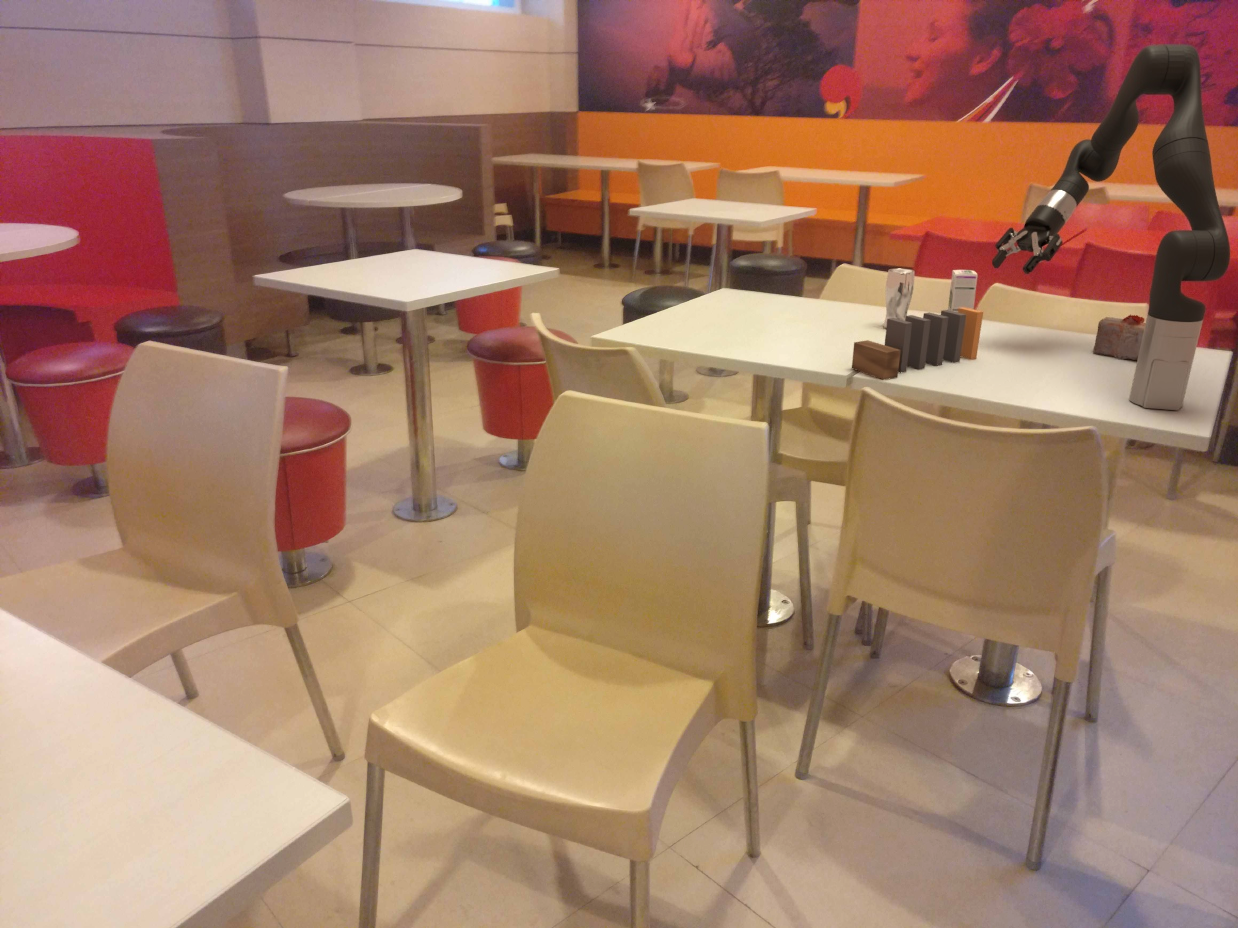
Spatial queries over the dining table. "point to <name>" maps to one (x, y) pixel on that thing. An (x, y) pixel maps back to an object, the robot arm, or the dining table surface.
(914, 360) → the domino
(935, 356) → the domino
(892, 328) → the domino
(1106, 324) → the food item
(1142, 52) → the robot arm
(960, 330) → the domino
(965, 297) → the syrup box
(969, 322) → the orange tile
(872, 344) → the block
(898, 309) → the beer glass
